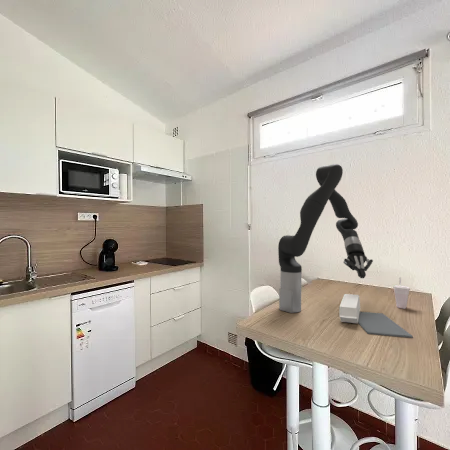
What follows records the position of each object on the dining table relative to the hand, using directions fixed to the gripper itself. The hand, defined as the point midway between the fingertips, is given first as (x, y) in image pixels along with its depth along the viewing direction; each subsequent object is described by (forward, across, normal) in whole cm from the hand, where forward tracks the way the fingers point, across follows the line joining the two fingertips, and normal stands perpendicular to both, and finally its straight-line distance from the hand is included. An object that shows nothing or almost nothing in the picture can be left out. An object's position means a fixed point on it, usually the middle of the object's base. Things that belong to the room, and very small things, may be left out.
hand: (362, 277), depth 107 cm
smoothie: (+4, +20, +18) cm, 27 cm away
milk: (+7, -4, +9) cm, 12 cm away
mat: (+21, 0, 0) cm, 21 cm away
